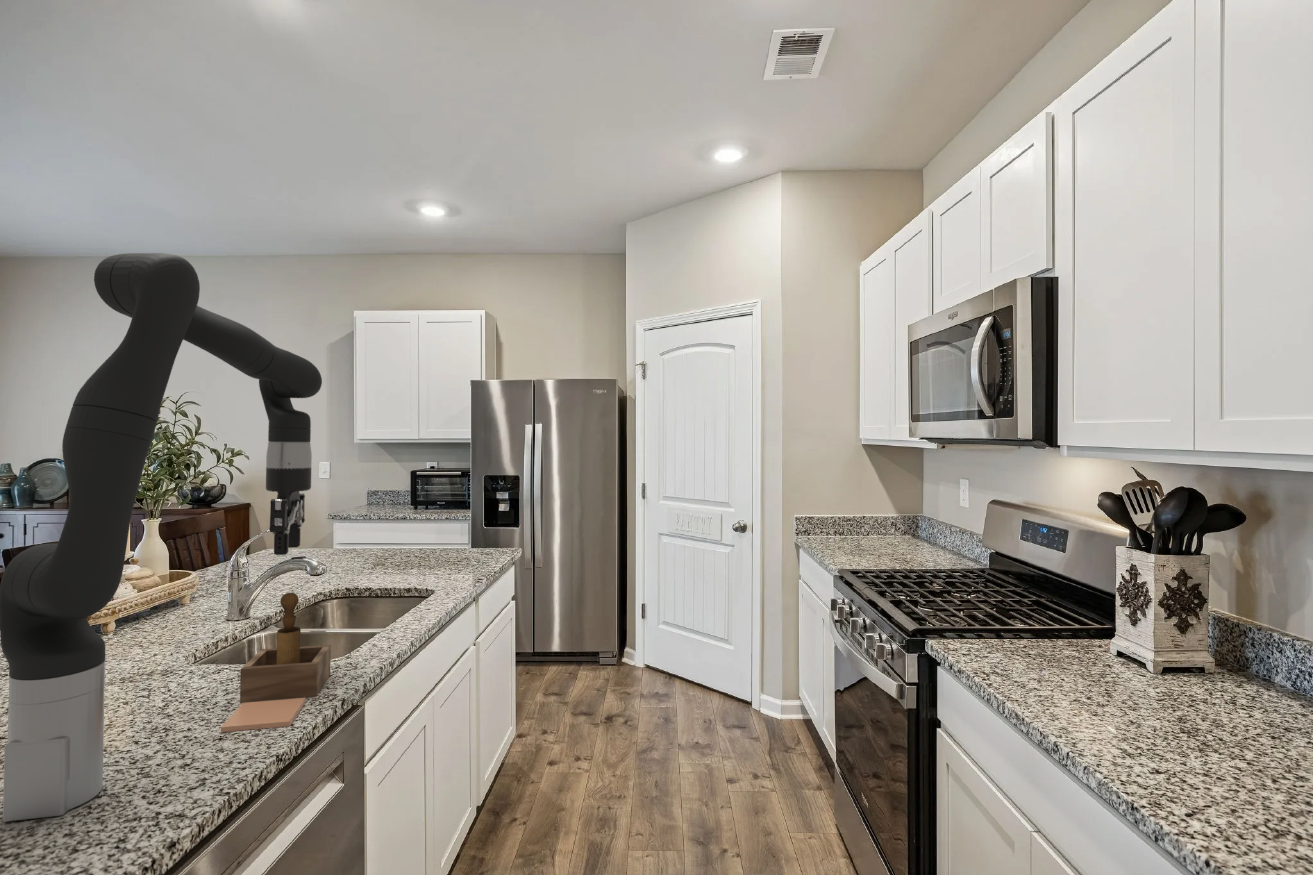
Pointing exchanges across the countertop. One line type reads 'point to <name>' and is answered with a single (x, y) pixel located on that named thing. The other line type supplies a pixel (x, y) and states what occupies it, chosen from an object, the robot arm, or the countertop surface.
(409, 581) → the countertop surface
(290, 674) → the open wooden box
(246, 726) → the terracotta tile
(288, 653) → the mortar and pestle
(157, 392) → the robot arm
